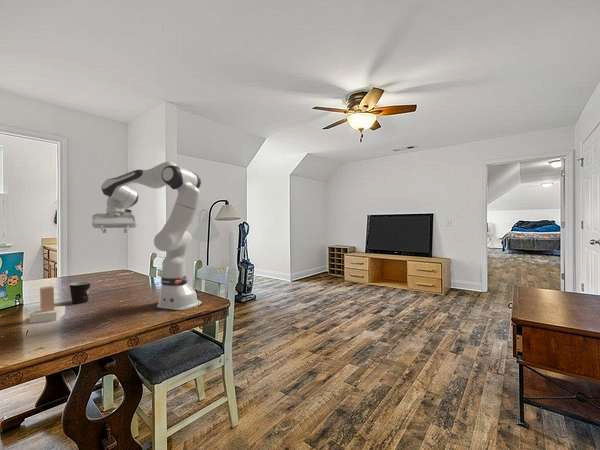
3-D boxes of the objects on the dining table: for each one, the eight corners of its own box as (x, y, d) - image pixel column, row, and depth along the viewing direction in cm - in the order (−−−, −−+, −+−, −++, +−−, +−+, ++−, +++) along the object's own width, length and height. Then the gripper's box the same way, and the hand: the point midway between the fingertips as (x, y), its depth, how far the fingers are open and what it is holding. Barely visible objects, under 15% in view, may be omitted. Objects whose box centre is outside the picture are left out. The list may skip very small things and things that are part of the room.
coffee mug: (78, 305, 140) (78, 285, 139) (64, 303, 141) (65, 284, 141) (99, 298, 151) (99, 280, 151) (86, 297, 153) (86, 279, 153)
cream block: (65, 314, 128) (65, 305, 128) (56, 321, 120) (56, 312, 120) (40, 316, 125) (40, 307, 125) (29, 323, 116) (29, 314, 116)
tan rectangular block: (52, 307, 125) (52, 285, 124) (54, 309, 122) (53, 287, 122) (40, 310, 122) (39, 287, 121) (41, 312, 119) (41, 289, 119)
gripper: (92, 209, 148) (90, 228, 140) (136, 210, 159) (137, 228, 151) (93, 217, 152) (91, 236, 144) (136, 218, 163) (136, 235, 155)
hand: (115, 232), depth 148 cm, fingers open, 8 cm apart
